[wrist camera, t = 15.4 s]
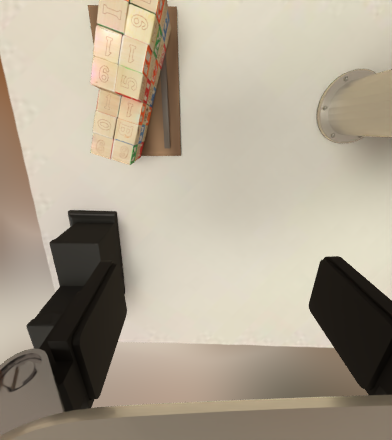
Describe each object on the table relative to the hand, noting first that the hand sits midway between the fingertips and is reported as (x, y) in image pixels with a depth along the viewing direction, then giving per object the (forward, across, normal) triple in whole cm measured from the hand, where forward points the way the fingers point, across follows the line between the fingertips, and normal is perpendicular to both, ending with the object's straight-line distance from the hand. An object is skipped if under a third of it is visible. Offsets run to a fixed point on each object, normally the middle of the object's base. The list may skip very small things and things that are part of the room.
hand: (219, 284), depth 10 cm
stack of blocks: (+36, +10, -12) cm, 39 cm away
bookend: (+39, +24, +22) cm, 50 cm away
